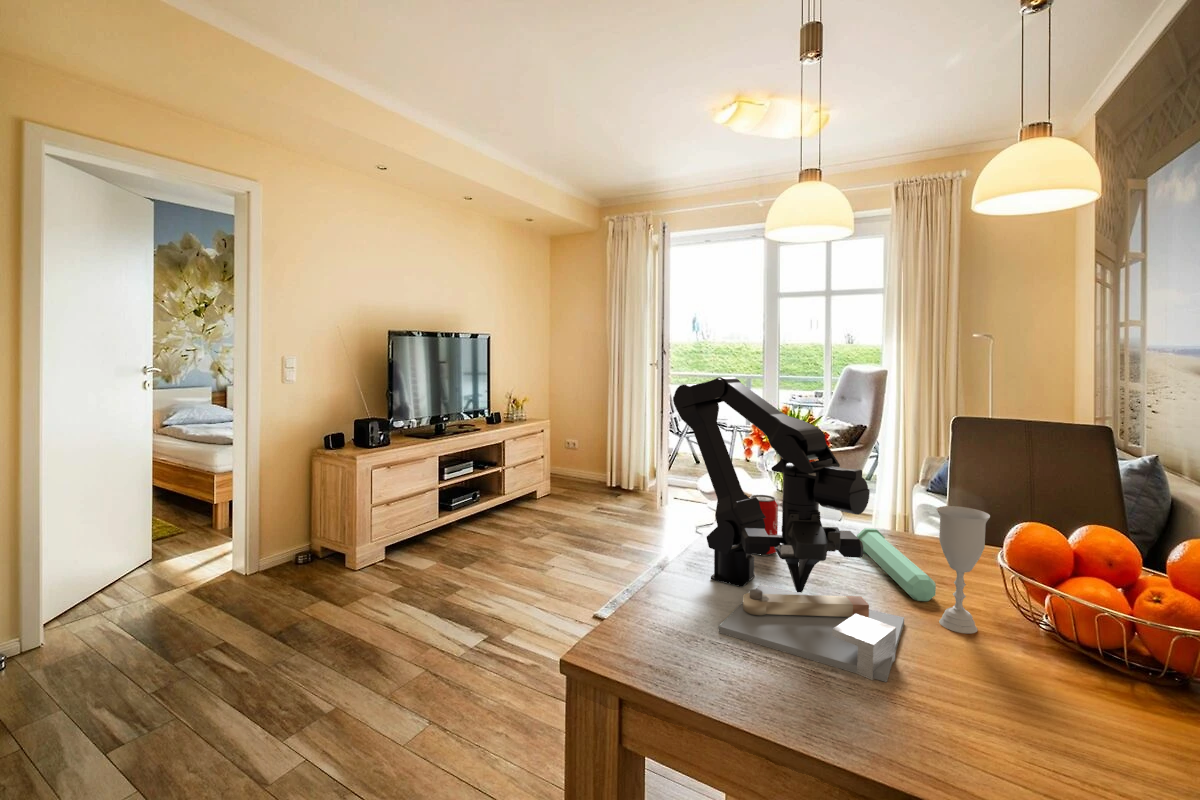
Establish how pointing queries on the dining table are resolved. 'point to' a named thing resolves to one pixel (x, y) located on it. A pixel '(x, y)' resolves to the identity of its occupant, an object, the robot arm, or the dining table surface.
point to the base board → (805, 634)
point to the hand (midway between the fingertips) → (798, 591)
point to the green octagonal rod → (897, 565)
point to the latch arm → (803, 604)
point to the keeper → (868, 642)
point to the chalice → (961, 557)
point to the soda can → (769, 515)
